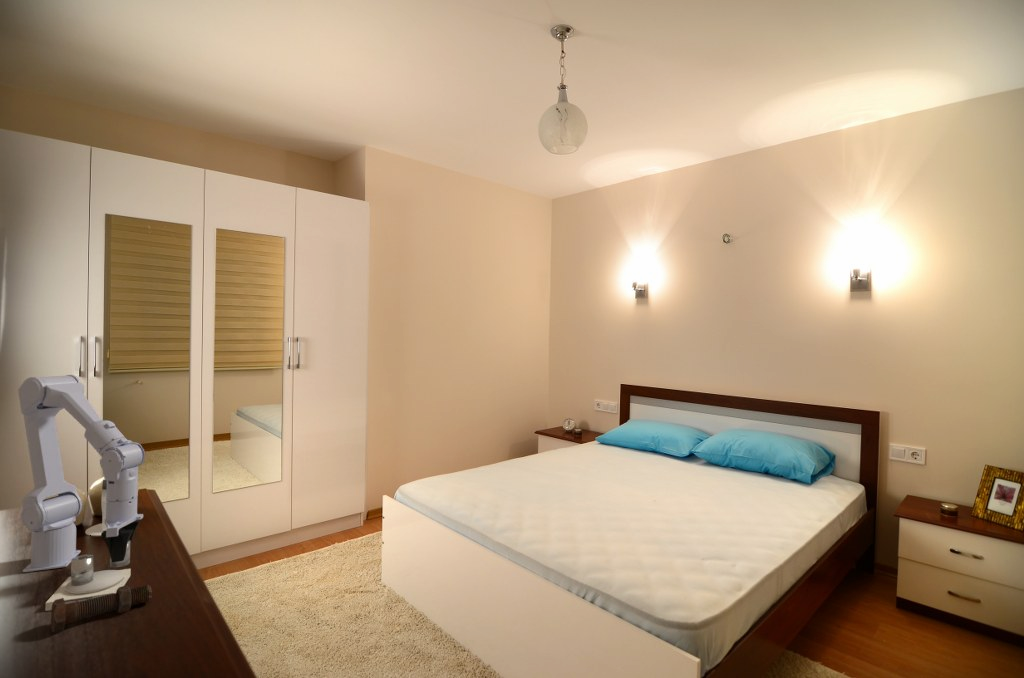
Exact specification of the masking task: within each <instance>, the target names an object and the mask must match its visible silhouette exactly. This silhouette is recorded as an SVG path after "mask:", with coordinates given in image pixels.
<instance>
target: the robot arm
mask: <svg viewBox="0 0 1024 678" xmlns="http://www.w3.org/2000/svg"><path fill="white" fill-rule="evenodd" d="M17 392H18V399H19V406H20V411H21V414H22V415H23V421H24V427H25V428H24V429H25V433H26V434H25V435H26V442H27V447H28V453H29V460H30V466H31V473H32V480H33V488H32V489H31V491H30V492H28V493H27V494H26V495H25V496H24V497H23V498H22V501H21V502H22V510H21V514H20V520H21V523H22V525H23V526H24V527H25V528H26V529H27V530H28V531H31V533H30V534H31V539H30V541H31V542H30V543H31V548H30V563H29V564H28V565H27V566H26V567H25V568H23V569H22V572H23V573H28V572H36V571H44V570H51V569H52V570H53V569H60V568H61V569H62V568H66V567H68V566H70V565H71V560H72V559H73V558H75V557H77V556H79V554H80V553H81V552H82V551H81V550H80V549H77V527H76V524H75V522H76V517H78V516H79V515H80V514H81V512H82V509H83V500H82V499H81V497H80V496H79V493H78V489H77V486H76V485H74V484H71V483H69V482H67V481H66V480H65V475H64V468H63V464H62V463H63V462H62V456H61V455H62V454H61V449H60V443H59V438H58V436H59V435H58V430H57V424H56V419H55V418H56V416H57V414H58V413H59V412H60V411H61V410H63V409H64V410H65V411H66V412H67V413H68V414H69V415H70V416H72V418H73V419H75V420H76V421H77V422H78V424H79V425H81V426H82V427H83V428H84V429H85V431H84V434H83V435H84V438H85V439H86V441H87V442H88V443H89V444H90V445H91V446H92V448H93V449H94V450H95V451H96V452H97V454H98V455H99V456H100V457H101V459H99V464H100V468H101V469H102V471H103V474H104V475H103V479H104V478H105V480H107V492H106V519H105V525H106V527H107V529H106V531H103V532H102V533H101V536H100V538H101V539H102V540H103V542H104V543H105V545H106V547H107V549H108V553H109V556H110V557H111V561H112V562H119V561H123V560H124V558H125V555H126V549H127V544H128V541H129V540H130V549H131V548H132V543H133V540H134V536H135V533H136V530H137V528H138V527H139V524H140V523H141V520H142V519H143V518H144V514H143V513H138V496H139V495H138V493H139V492H138V490H139V489H138V487H139V486H138V485H139V484H138V483H139V467H140V466H141V465H143V463H144V461H145V458H146V454H145V449H144V448H143V446H142V445H141V444H140V443H139V442H136V441H132V440H131V439H130V440H129V439H127V438H126V437H125V436H124V434H123V433H122V432H121V431H120V430H119V428H118V427H116V424H115V423H114V421H111V420H103V419H102V418H101V416H100V415H99V414H98V413H97V411H96V409H95V408H94V407H93V405H92V404H91V403H90V401H89V400H88V399H87V397H86V395H85V385H84V384H83V383H82V382H81V380H80V379H79V377H77V376H76V375H75V374H66V375H57V376H56V375H55V376H41V377H40V376H39V377H36V376H31V377H28V378H26V379H25V380H24V381H23V382H22V384H21V385H20V386H19V388H18V389H17ZM110 557H109V558H110Z"/></svg>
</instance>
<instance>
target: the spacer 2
mask: <svg viewBox="0 0 1024 678" xmlns="http://www.w3.org/2000/svg"><path fill="white" fill-rule="evenodd" d="M109 558H110V559H109V567H110V568H115V569H116V568H122V567H125V566H128V565H129V564H130V563H131V548H130V540H129V541H128V544H127V549H126V555H125V558H124V560H123V561H119V562H112V561H111V557H109Z"/></svg>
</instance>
